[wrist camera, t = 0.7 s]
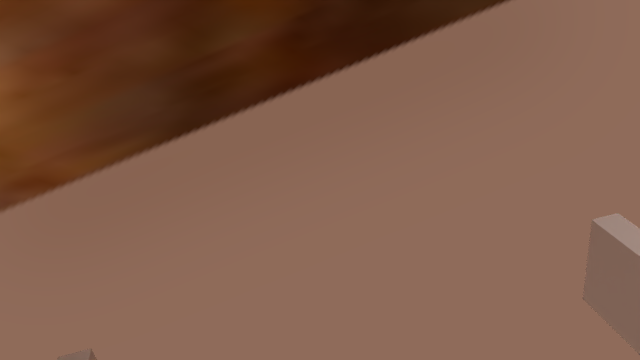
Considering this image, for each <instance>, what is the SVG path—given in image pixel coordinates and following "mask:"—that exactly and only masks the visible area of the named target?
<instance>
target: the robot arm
mask: <svg viewBox="0 0 640 360" xmlns="http://www.w3.org/2000/svg"><path fill="white" fill-rule="evenodd" d="M589 241H590V242H589V249H588V258H587V267H586V276H585V285H584V294H583V300H585V301H586V302H587V303H588V304H589V305H590V306H591V307H592V308H593V309H594V310H595V311H596V312H597V313H598V314H599V315H600V316H601V317H602V318H603V319H604V320H605V321H606V322H607V323H608V324H609V325H610V326H611V327H612V328H613V329H614V330H615V331H616V332H617V333H618V334H619V335H620V336H621V337H622V338H623V339H624V340H625V341H626V342H627V343H628V344H629V345H630V346H631V347H632V348H633V349H634V350H635V351H636V352H637V353H638V354H639V355H640V228H638V227H637V226H635V225H634V224H633V223H631V222H630V221H628V220H627V219H625V218H624V217H622V216H621V215H620V214H618V213H617V214H613V215H609V216H605V217H601V218H597V219H593V220H592V223H591V232H590V240H589ZM58 360H97V359H96V357H95V355H94V353H93V351H92V349H88V350H84V351H80V352H76V353H72V354H68V355H65V356H61V357H58Z"/></svg>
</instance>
